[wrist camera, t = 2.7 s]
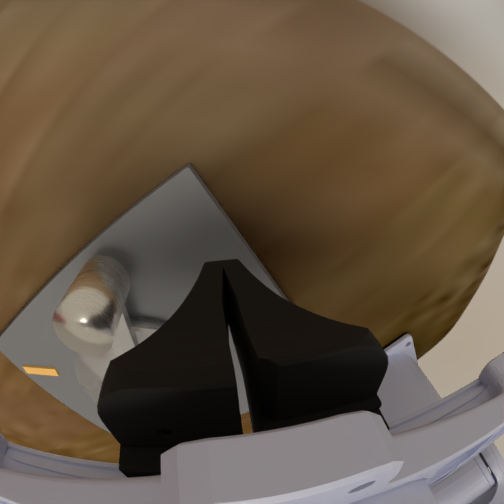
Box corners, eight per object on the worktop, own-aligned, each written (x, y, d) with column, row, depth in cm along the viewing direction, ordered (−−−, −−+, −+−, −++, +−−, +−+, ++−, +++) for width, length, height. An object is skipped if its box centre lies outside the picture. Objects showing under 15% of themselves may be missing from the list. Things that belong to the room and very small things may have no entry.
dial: (226, 406, 19) (235, 462, 14) (109, 410, 17) (101, 463, 13) (201, 233, 13) (202, 293, 9) (32, 253, 12) (-15, 306, 7)
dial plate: (328, 356, 20) (334, 369, 19) (142, 439, 22) (141, 451, 21) (189, 162, 13) (188, 167, 11) (0, 334, 15) (-8, 346, 13)
